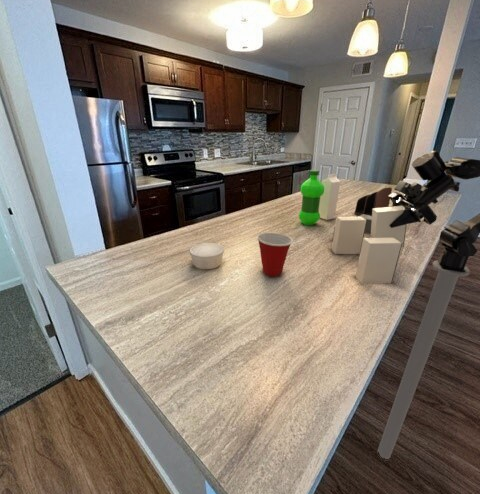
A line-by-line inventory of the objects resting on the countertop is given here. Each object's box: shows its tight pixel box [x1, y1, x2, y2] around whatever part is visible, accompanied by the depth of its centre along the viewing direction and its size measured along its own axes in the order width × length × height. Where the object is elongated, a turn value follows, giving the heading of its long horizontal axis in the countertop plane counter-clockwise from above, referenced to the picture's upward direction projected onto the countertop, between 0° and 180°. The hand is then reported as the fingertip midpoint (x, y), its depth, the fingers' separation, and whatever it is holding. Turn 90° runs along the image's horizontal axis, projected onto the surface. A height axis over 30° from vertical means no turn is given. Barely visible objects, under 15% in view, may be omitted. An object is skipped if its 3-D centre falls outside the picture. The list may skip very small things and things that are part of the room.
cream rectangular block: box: [369, 206, 408, 248], centre depth 85 cm, size 9×4×13 cm, turn 84°
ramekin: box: [189, 242, 225, 270], centre depth 87 cm, size 11×11×5 cm
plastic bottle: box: [298, 169, 324, 226], centre depth 122 cm, size 10×10×25 cm
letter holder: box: [354, 187, 393, 216], centre depth 141 cm, size 10×20×14 cm, turn 132°
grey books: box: [332, 214, 372, 242], centre depth 111 cm, size 9×26×6 cm, turn 133°
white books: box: [331, 216, 403, 285], centre depth 86 cm, size 9×24×13 cm, turn 3°
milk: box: [319, 173, 341, 221], centre depth 131 cm, size 6×6×22 cm
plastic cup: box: [256, 231, 294, 277], centre depth 81 cm, size 11×11×12 cm
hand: (386, 224), depth 85 cm, fingers closed on cream rectangular block, 4 cm apart
